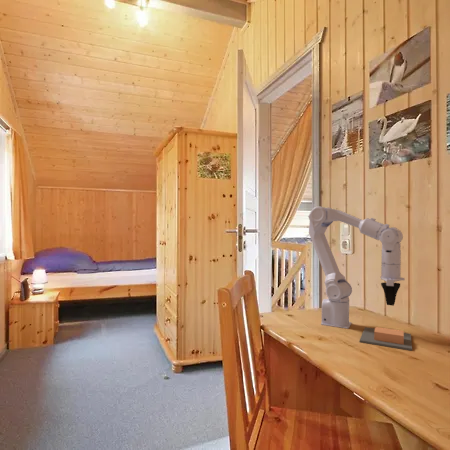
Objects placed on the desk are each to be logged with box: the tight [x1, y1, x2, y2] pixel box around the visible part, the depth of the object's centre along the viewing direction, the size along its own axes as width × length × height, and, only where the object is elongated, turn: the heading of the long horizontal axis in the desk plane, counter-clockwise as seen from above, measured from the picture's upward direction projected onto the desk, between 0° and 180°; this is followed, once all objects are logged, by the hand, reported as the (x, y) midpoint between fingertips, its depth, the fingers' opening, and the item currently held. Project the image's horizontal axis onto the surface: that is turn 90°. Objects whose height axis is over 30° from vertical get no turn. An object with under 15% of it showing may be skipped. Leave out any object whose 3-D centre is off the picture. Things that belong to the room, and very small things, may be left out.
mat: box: [359, 326, 413, 352], centre depth 105 cm, size 14×16×1 cm
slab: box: [374, 326, 405, 345], centre depth 102 cm, size 8×2×6 cm
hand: (390, 304), depth 109 cm, fingers closed
